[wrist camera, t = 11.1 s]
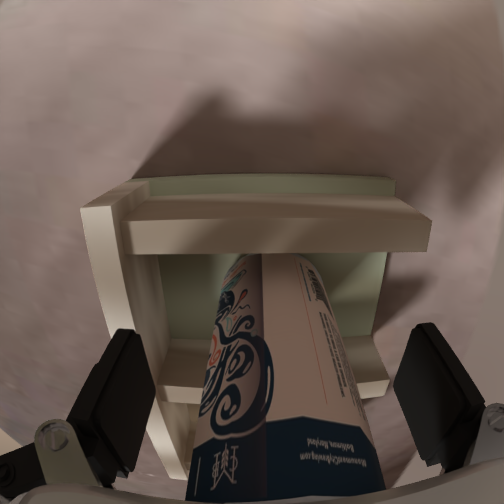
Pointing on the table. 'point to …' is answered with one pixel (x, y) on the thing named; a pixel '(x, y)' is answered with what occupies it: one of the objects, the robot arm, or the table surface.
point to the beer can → (279, 394)
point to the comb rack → (224, 257)
